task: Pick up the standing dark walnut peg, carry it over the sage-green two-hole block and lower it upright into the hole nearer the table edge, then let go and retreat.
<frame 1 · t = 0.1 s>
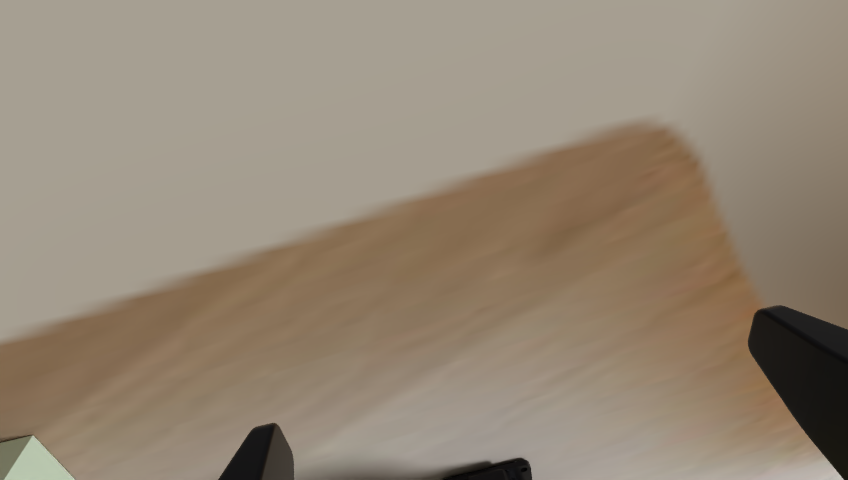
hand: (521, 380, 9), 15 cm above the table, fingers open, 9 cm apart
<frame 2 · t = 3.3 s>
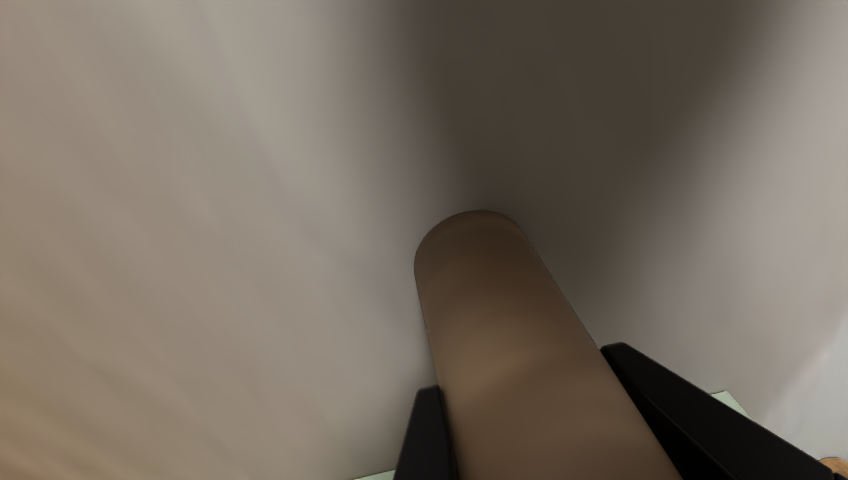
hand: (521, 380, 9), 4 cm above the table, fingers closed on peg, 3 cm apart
peg: (472, 263, 12), on the table, touching gripper
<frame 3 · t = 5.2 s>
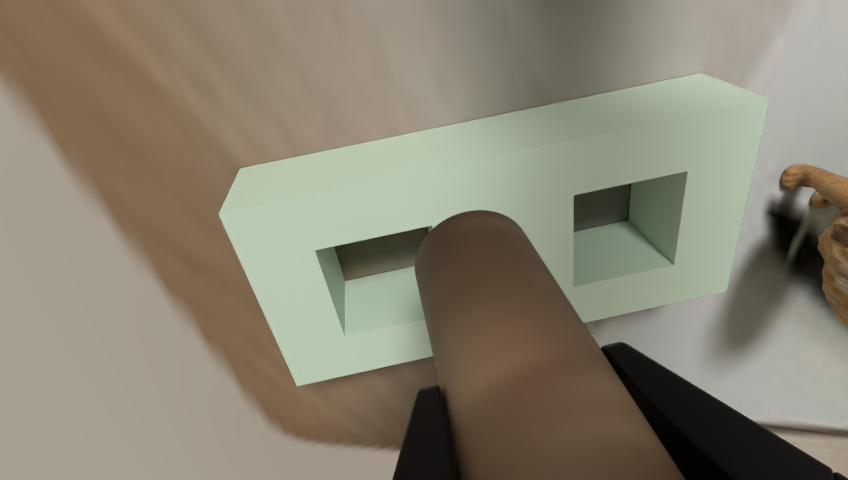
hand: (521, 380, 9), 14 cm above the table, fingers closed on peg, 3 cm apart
peg: (472, 262, 12), point 10 cm above the table, touching gripper
hole block: (483, 211, 23), on the table
when the fingers open (6 cm above the table, at t = 7.4 s): peg drops 2 cm, resting in hole block.
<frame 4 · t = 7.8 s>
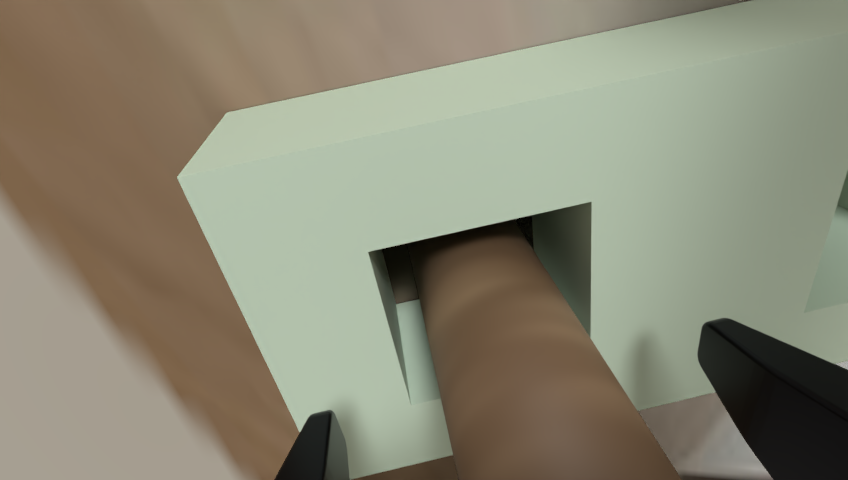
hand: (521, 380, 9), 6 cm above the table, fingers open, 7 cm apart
peg: (456, 227, 14), resting in hole block
hole block: (622, 190, 14), on the table
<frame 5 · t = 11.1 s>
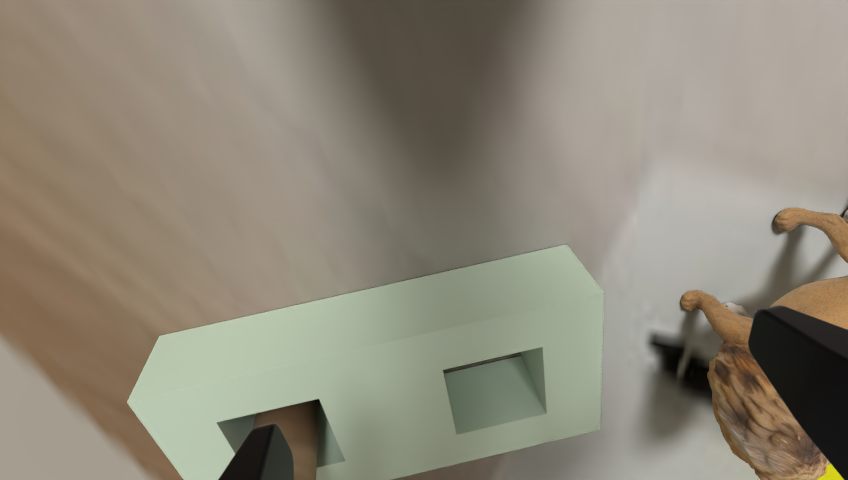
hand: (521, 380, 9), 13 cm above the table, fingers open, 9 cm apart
peg: (292, 377, 25), resting in hole block
lion figurine: (750, 272, 27), on the table
hole block: (385, 356, 26), on the table
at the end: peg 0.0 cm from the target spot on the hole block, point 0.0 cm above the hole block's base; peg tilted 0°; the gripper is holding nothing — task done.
